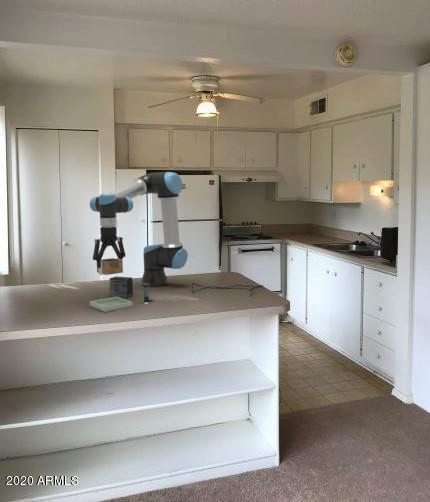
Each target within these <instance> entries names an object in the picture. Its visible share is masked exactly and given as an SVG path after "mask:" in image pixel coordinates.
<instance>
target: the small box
mask: <svg viewBox="0 0 430 502" xmlns="http://www.w3.org/2000/svg"><path fill="white" fill-rule="evenodd" d="M133 281H134V280H133V277H131V276H130V277H129V276H126V277H125V276H113V277H112V276H111V277H110V278H109V298H112V297H120V298H123V299H129V298H131V297H133V296H134V289H133V288H134V287H133Z"/></svg>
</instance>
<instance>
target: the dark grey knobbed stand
mask: <svg viewBox="0 0 430 502" xmlns="http://www.w3.org/2000/svg"><path fill="white" fill-rule="evenodd" d="M149 285H150V283H142V285H141V286H143V299H142V300H138V303H139V304H142V305H144V304H146V305H147V304H153V303H155V300H154V299H150V295H149Z"/></svg>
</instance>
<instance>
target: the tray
mask: <svg viewBox="0 0 430 502" xmlns="http://www.w3.org/2000/svg"><path fill="white" fill-rule="evenodd" d="M133 305H134V304H133V301H131V300H128V299H126V298H120V297H111V298H110V297H106V298H101V299H95V300H91V301H89V307H90V308H92V309H95V310H98V311H100V312H103V313H108V312H113V311H115V310H118V309H123V308H128V307H133Z"/></svg>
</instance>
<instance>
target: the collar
mask: <svg viewBox="0 0 430 502" xmlns="http://www.w3.org/2000/svg"><path fill="white" fill-rule="evenodd" d="M101 261H102V263H103V275H104V276H108V275H115V274H116V275H117V274H121V273H124V267H123V266H124V263H123V262H124V261H123V259H122V260H119V259H117V258H115V257H112V258H111V257H110V258H102V259H101ZM96 273H97V274H99V268H97V267H96Z"/></svg>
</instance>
